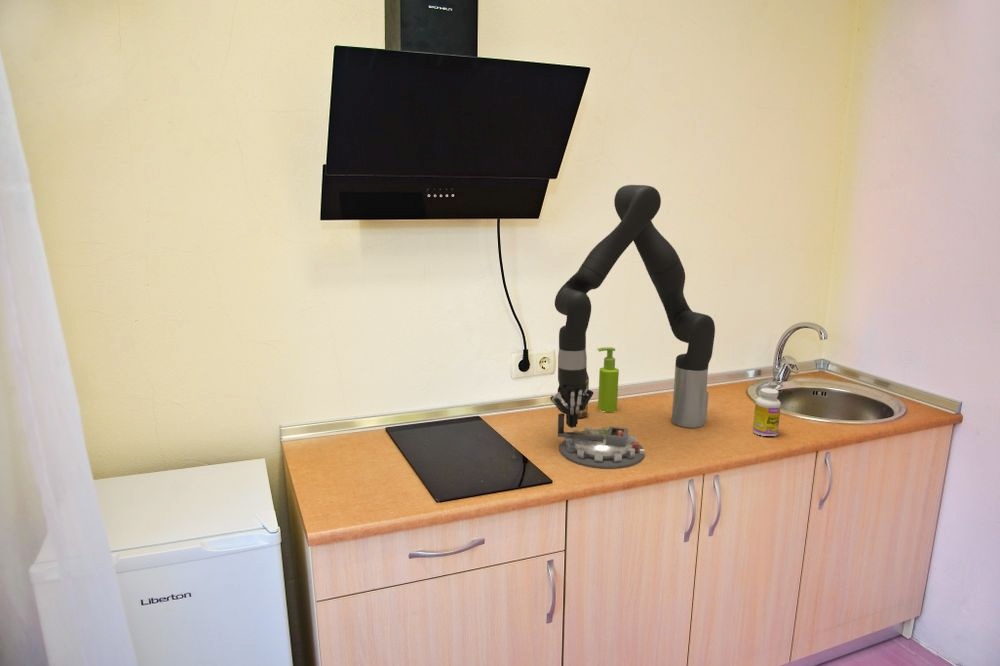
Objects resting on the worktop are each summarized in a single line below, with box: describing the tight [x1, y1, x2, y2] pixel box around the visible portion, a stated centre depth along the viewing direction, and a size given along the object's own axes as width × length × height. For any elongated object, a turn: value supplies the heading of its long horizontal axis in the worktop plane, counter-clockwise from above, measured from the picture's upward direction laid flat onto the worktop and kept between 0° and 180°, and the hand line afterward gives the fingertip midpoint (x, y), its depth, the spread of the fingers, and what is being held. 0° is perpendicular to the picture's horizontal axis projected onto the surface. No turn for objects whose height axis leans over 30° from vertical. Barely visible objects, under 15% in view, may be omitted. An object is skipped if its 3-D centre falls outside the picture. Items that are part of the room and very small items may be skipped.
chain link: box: [606, 426, 629, 447], centre depth 169 cm, size 7×5×2 cm
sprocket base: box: [559, 438, 646, 470], centre depth 171 cm, size 22×22×2 cm
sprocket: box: [557, 413, 640, 462], centre depth 170 cm, size 19×21×8 cm
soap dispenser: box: [596, 346, 620, 413], centre depth 201 cm, size 6×7×20 cm
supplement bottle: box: [752, 387, 782, 437], centre depth 183 cm, size 7×7×13 cm
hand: (571, 426), depth 174 cm, fingers closed
